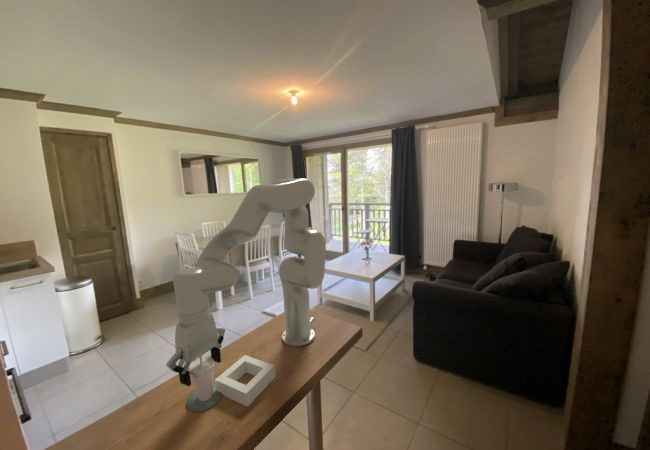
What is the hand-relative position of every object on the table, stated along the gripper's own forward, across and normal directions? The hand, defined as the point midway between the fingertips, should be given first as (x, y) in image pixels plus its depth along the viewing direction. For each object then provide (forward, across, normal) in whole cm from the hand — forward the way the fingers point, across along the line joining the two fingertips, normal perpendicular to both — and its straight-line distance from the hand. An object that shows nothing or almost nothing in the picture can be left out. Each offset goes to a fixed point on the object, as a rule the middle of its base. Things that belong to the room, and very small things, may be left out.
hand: (202, 371), depth 74 cm
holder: (+8, -9, +7) cm, 14 cm away
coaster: (+8, 0, 0) cm, 8 cm away
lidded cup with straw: (+8, 0, 0) cm, 8 cm away
